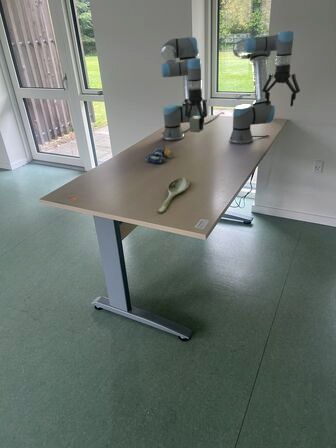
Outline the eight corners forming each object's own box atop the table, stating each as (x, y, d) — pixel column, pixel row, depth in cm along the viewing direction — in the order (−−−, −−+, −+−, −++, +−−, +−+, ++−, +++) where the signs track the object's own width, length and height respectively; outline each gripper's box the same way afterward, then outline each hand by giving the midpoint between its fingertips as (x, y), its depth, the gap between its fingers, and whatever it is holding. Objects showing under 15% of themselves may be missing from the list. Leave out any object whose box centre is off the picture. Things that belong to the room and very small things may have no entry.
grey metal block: (189, 131, 204) (189, 118, 200) (194, 128, 209) (194, 115, 204) (198, 132, 201) (198, 119, 197) (203, 129, 206) (203, 116, 201)
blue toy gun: (178, 153, 218) (158, 152, 224) (177, 147, 215) (157, 146, 222) (164, 166, 202) (142, 164, 209) (163, 159, 200) (141, 157, 206)
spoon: (171, 216, 152) (170, 213, 151) (149, 214, 155) (149, 210, 154) (193, 181, 178) (193, 177, 177) (174, 179, 182) (174, 176, 180)
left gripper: (177, 89, 194) (179, 128, 206) (207, 90, 185) (208, 131, 197) (183, 86, 199) (185, 125, 211) (213, 87, 190) (213, 128, 202)
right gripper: (258, 65, 182) (255, 105, 193) (305, 64, 170) (300, 107, 181) (262, 63, 187) (260, 102, 198) (309, 62, 175) (303, 104, 186)
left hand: (196, 128), depth 204 cm, fingers closed on grey metal block, 6 cm apart
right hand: (279, 105), depth 190 cm, fingers open, 13 cm apart
